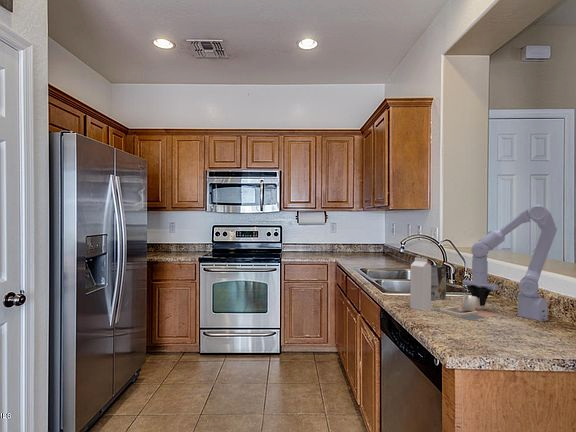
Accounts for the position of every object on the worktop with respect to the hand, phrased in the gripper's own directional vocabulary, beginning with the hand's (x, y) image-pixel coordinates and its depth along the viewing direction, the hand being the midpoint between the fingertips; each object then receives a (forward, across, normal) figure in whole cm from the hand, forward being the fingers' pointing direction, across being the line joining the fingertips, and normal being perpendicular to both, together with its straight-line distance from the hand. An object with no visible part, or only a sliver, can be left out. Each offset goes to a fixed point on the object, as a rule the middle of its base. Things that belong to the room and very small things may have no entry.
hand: (479, 305), depth 160 cm
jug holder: (+3, 0, +9) cm, 9 cm away
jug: (+2, 0, +6) cm, 6 cm away
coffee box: (+3, +25, -3) cm, 25 cm away
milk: (+3, +13, +20) cm, 24 cm away
